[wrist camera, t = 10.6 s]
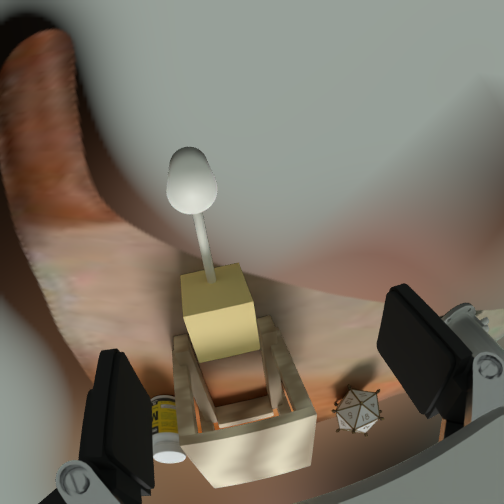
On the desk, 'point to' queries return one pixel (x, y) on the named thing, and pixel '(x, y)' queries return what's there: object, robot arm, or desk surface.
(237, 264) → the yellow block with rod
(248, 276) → the desk surface
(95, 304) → the desk surface
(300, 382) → the birch shelf
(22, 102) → the desk surface
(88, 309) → the desk surface
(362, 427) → the game die
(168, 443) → the supplement bottle
